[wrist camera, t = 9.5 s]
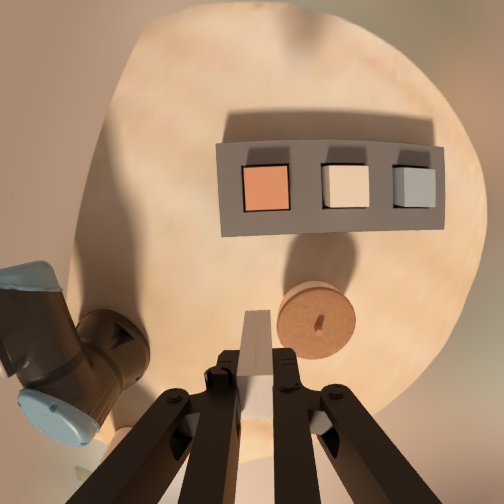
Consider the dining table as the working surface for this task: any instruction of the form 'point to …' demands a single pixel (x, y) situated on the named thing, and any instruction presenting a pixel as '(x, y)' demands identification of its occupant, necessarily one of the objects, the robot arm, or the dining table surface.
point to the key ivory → (345, 186)
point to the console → (310, 186)
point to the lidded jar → (315, 320)
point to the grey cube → (414, 187)
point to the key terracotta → (266, 188)
